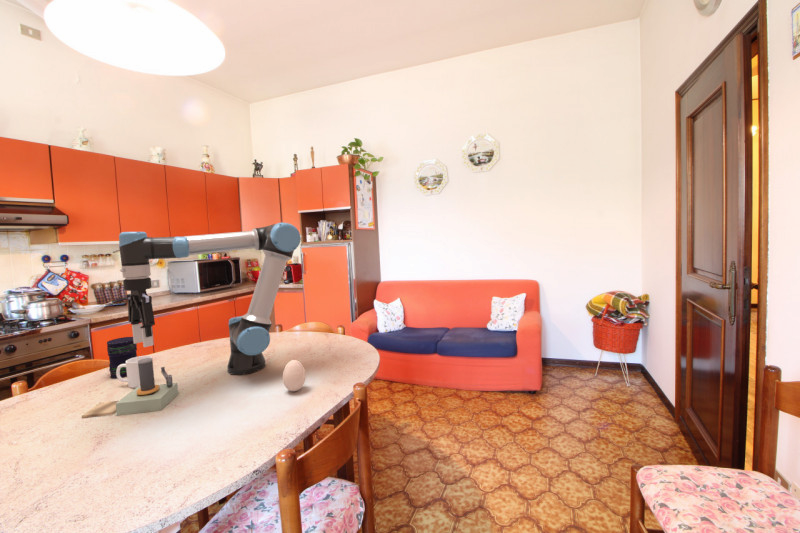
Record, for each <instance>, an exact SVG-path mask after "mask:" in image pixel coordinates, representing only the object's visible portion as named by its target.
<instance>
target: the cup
mask: <svg viewBox="0 0 800 533" xmlns="http://www.w3.org/2000/svg"><path fill="white" fill-rule="evenodd" d="M145 358H152V359H153V357H152V355H141V356H140V355H139V356H137V357H134V358H131V359H128V360H127V361H126V364H121V365H119V366H118V367H117V370H116V375H117V378H118V379H117V380H119V381H120V382H122V383H127V386H128V387H129V388H132V389H135V388H137V387H140V377H139V368H138V361H139V360H141V359H145ZM121 367H126V370H127V377H126V378H121V376H120V368H121Z"/></svg>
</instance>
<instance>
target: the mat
mask: <svg viewBox="0 0 800 533" xmlns="http://www.w3.org/2000/svg"><path fill="white" fill-rule="evenodd" d="M118 401H119V400H115V401H114V400H113V401H104V402H99V403H97V404H96V405H95V406H93V407H92V408H90V409H89V410H88V411H86V412H84V413H83V414H82V415H81V419H85V418H93V417H102V416H103V417H104V416H113V415H115V414H117V412H116V403H117V402H118Z"/></svg>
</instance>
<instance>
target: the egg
mask: <svg viewBox="0 0 800 533" xmlns="http://www.w3.org/2000/svg"><path fill="white" fill-rule="evenodd" d="M306 378H307V377H306V370H305V368H304V365H303V364H302V363H301V362H300V361H299V360H296V359H292V360H290V361H288V363H287V364H286V365H285V366H284V369H283V372H282V383H283V385H284V387H285V388H286V389H287V390H288V391H290V392H298V391H299V390H301V389H302V387H303V386H304V385H305V382H306Z"/></svg>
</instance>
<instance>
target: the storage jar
mask: <svg viewBox="0 0 800 533" xmlns="http://www.w3.org/2000/svg"><path fill="white" fill-rule="evenodd" d="M137 344H138V343H136V344H134V341H133V336H125V337H118V338H114V339H111V340H108V341H107V342H106V346H107V349H106V350H107V356H108V359H109V365H108V366H109V374H110V375H109V376H110V378H111V379H115V380H118V378H117V375H116V370H117V367H118V366H119V365H121V364H126V361H127V360H128V359H131V358H134V357H138V354H137V351H138V348H137V347H138V345H137ZM120 376H121V378H123V379H126V378H127V370H126V367H121V368H120Z"/></svg>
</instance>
